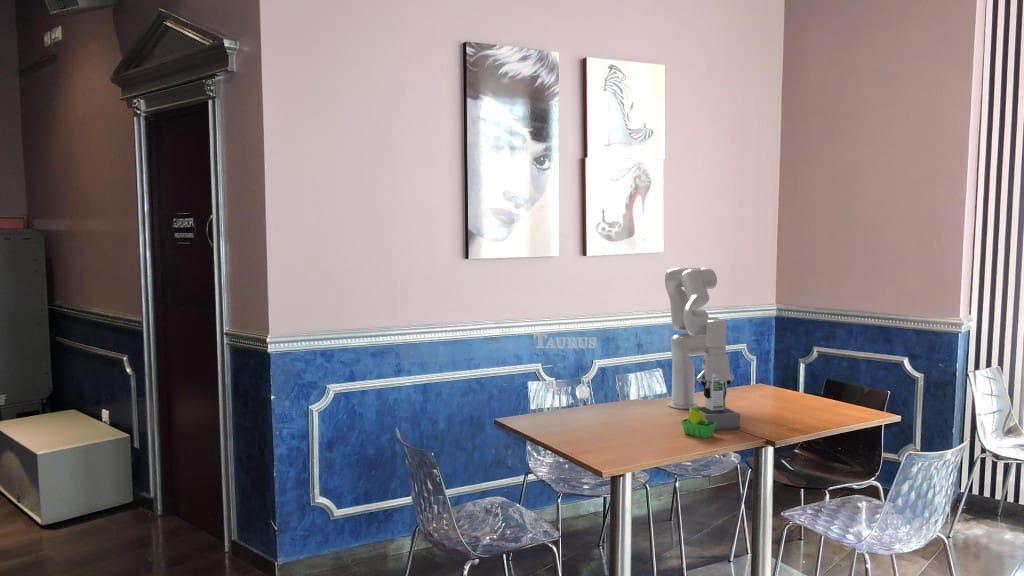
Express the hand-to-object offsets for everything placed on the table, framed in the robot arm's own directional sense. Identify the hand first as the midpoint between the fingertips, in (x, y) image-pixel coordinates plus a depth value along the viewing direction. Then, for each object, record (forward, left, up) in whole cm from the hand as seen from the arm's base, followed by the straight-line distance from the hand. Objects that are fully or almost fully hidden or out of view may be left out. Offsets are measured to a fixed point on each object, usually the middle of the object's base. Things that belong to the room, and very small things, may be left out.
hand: (715, 397), depth 311 cm
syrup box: (0, 0, -5) cm, 5 cm away
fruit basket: (+13, -13, -11) cm, 21 cm away
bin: (0, 0, -11) cm, 11 cm away
